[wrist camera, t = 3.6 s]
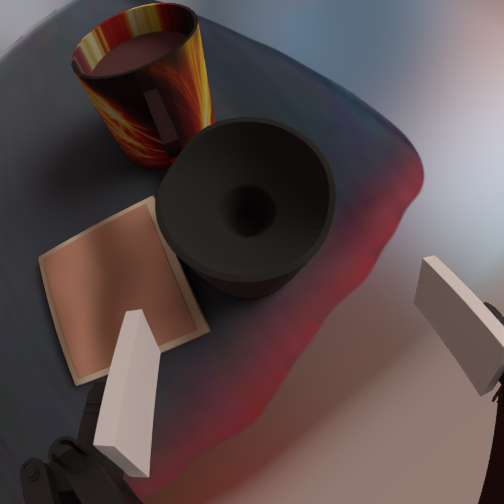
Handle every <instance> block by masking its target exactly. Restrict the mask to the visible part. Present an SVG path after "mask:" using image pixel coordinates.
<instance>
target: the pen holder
mask: <svg viewBox="0 0 504 504" xmlns="http://www.w3.org/2000/svg"><path fill="white" fill-rule="evenodd" d="M335 201H336V190H335V182H334V177H333V173H332V171H331V168H330V166H329V163H328V162H327V160H326V158H325V157H324V155H323V154H322V152H321V151H320V150H319V149H318V147H317V146H316V145H315V144H314V143H313V142H312V141H311V140H309V139H308V138H307V137H306V136H304V135H303V134H302V133H300V132H298V131H297V130H295V129H293V128H291V127H289V126H287V125H285V124H282V123H280V122H276V121H273V120H269V119H264V118H255V117H238V118H230V119H226V120H222V121H218V122H216V123H213V124H211V125H209V126H207V127H205V128H204V129H202V130H201V131H199V132H198V133H197V134H196V135H195V136H194V137H193V138H192V139H191V140H190V141H189V142H188V143H187V144H186V146H185V147H184V148H183V149H182V151H181V152H180V154H179V155H178V156H177V158H176V159H175V161H174V163H173V164H172V166H171V167H170V169H169V170H168V172H167V174H166V175H165V177H164V179H163V180H162V182H161V184H160V187H159V189H158V191H157V195H156V199H155V213H156V219H157V223H158V226H159V229H160V231H161V233H162V235H163V237H164V239H165V241H166V242H167V244H168V245H169V247H170V248H171V249H172V251H173V252H174V253H175V254H176V255H177V256H178V257H179V258H180V259H181V260H182V261H183V262H184V263H186V264H187V265H188V266H189V267H190V268H191V269H193V270H194V271H195V272H196V273H197V274H198V275H200V276H201V277H202V278H203V279H204V280H206V281H207V282H208V283H209V284H211V285H212V286H214V287H215V288H216V289H218V290H220V291H222V292H223V293H226V294H228V295H231V296H235V297H240V298H256V297H262V296H265V295H268V294H271V293H273V292H275V291H277V290H278V289H280V288H282V287H283V286H284V285H285V284H287V283H288V282H289V281H290V280H291V279H292V278H293V277H294V276H295V275H296V274H297V273H298V272H299V271H300V270H301V269H302V268H303V267H304V266H305V265H306V263H307V262H308V261H309V260H310V259H311V258H312V257H313V256H314V255H315V254H316V253H317V252H318V250H319V249H320V247H321V246H322V244H323V243H324V241H325V239H326V237H327V235H328V233H329V230H330V227H331V224H332V220H333V215H334V211H335Z"/></svg>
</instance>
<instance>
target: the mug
mask: <svg viewBox="0 0 504 504" xmlns="http://www.w3.org/2000/svg"><path fill="white" fill-rule="evenodd" d="M71 66H72V69H73V71H74V73H75V74H76V76H77V78H78V80H79V81H80V83H81V85H82V86H83V88H84V90H85V91H86V93H87V95H88V96H89V98H90V100H91V101H92V103H93V104H94V106H95V108H96V109H97V111H98V113H99V114H100V116H101V117H102V119H103V121H104V122H105V124H106V125H107V127H108V129H109V130H110V132H111V133H112V135H113V136H114V138H115V140H116V141H117V143H118V144H119V146H120V147H121V149H122V150H123V152H124V153H125V155H126V156H127V157H128V158H129V160H130V161H132V162H133V163H135V164H136V165H138V166H141V167H144V168H150V169H164V168H169V167H171V166H172V164H173V163H174V161H175V159H176V158H177V156H178V155H179V154H180V152H181V151H182V149H183V148H184V147H185V146H186V144H187V143H188V142H189V141H190V140H191V139H192V138H193V137H194V136H195V135H196V134H197V133H198V132H199V131H201V130H202V129H204V128H205V127H207V126H209V125H211V124H213V123H214V122H215V121H214V115H213V109H212V103H211V97H210V91H209V85H208V79H207V73H206V67H205V61H204V55H203V49H202V43H201V37H200V30H199V24H198V18H197V15H196V14H195V12H194V11H193V10H191V9H190V8H188V7H186V6H183V5H180V4H175V3H154V4H148V5H143V6H139V7H135V8H132V9H129V10H126V11H124V12H121V13H119V14H117V15H115V16H113V17H111V18H109V19H107V20H106V21H104V22H102V23H101V24H99V25H98V26H97V27H95V28H94V29H93V30H91V31H90V32H89V33H88V34H87V35H86V36H85V37H84V38H83V39H82V41H81V42H80V43H79V44H78V46H77V47H76V49H75V51H74V53H73V56H72V59H71Z"/></svg>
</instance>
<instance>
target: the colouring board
mask: <svg viewBox="0 0 504 504" xmlns="http://www.w3.org/2000/svg"><path fill="white" fill-rule="evenodd" d="M38 259H39V264H40V269H41V274H42V278H43V283H44V287H45V291H46V295H47V299H48V303H49V307H50V311H51V314H52V318H53V321H54V325H55V328H56V331H57V334H58V338H59V341H60V344H61V347H62V350H63V353H64V356H65V358H66V361H67V364H68V367H69V369H70V372H71V375H72V377H73V380H74V382H75V385H76V386H78V385H83V384H86V383H88V382H91V381H94V380H96V379H99V378H101V377H104V376H107V375H108V374H109V370H110V366H111V363H112V359H113V355H114V351H115V348H116V344H117V341H118V337H119V334H120V330H121V327H122V323H123V320H124V317H125V314H126V311H133V310H140V309H142V311H143V314H144V316H145V318H146V321H147V323H148V325H149V327H150V330H151V332H152V334H153V336H154V339H155V341H156V343H157V345H158V347H159V350H160V352H161V353H164V352H166V351H168V350H171V349H173V348H175V347H178V346H180V345H182V344H185V343H187V342H189V341H192V340H194V339H196V338H198V337H201V336H203V335H205V334H207V333H210V332H211V330H210V328H209V326H208V324H207V321H206V319H205V317H204V315H203V312H202V310H201V308H200V306H199V303H198V301H197V299H196V297H195V294H194V292H193V290H192V287H191V285H190V283H189V280H188V278H187V276H186V273H185V271H184V269H183V266H182V264H181V261H180V259H179V257H178V256H177V255H176V254H175V253H174V252H173V251H172V249H171V248H170V247H169V245H168V244H167V242H166V241H165V239H164V237H163V235H162V233H161V231H160V229H159V226H158V223H157V219H156V213H155V198H154V197H153V196H151V197H149V198H147V199H145V200H143V201H141V202H139V203H137V204H135V205H133V206H131V207H129V208H127V209H125V210H123V211H121V212H119V213H117V214H115V215H113V216H111V217H109V218H107V219H105V220H103V221H102V222H100V223H98V224H96V225H94V226H92V227H90V228H89V229H87V230H85V231H83V232H81V233H79V234H78V235H76V236H74V237H72V238H71V239H69V240H67V241H65V242H64V243H62V244H60V245H58V246H57V247H55V248H53V249H51V250H50V251H48V252H46V253H45V254H43V255H41V256H40V257H38Z"/></svg>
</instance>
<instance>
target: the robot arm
mask: <svg viewBox="0 0 504 504" xmlns="http://www.w3.org/2000/svg"><path fill="white" fill-rule="evenodd" d="M414 303H415V305H416V306H417V307H418V309H419V310H420V311H421V312H422V314H423V315H424V316H425V318H426V319H427V320H428V322H429V323H430V324H431V326H432V327H433V328H434V329H435V331H436V332H437V334H438V335H439V336H440V338H441V339H442V341H443V342H444V343H445V345H446V346H447V348H448V349H449V350H450V352H451V353H452V355H453V356H454V357H455V359H456V360H457V362H458V363H459V365H460V366H461V368H462V369H463V370H464V372H465V374H466V375H467V377H468V378H469V380H470V381H471V383H472V384H473V386H474V387H475V389H476V390H477V392H478V393H479V395H480V396H483V395H484V394H486V393H488V392H490V391H491V390H493V388H494V387H495V385H496V384H497V382H498V381H499V382H500V383H501V386H500V388H499V389H498V391H497V392H496V394H495V395H494V397H493V399H492V402H494V401H495V399H496V398H497V397H498V401H497V403H498V407H497V415H496V423H495V430H494V437H493V443H492V449H491V454H490V459H489V464H488V468H487V473H486V477H485V481H484V485H483V489H482V492H481V496H480V499H479V502H478V504H504V317H502V314H501V313H500V312H499V311H498V310H497V309H496V308H495V307H493V306H492V305H490V304H489V303H487V302H485V303H482V302H481V301H480V300H479V299H478V298H477V297H476V296H475V295H474V294H473V292H472V291H471V290H470V289H469V288H468V287H467V286H466V285H465V284H464V283H463V282H462V281H461V280H460V279H459V278H458V277H457V276H455V275H454V273H453V272H452V271H450V270H449V269H448V268H447V267H446V266H445V265H444V264H443V263H442V262H441V261H440V260H439V259H438V258H437V257H436V256H429V257H425V258H423V259H422V265H421V270H420V276H419V281H418V286H417V291H416V295H415V300H414ZM160 354H161V352H160V350H159V347H158V345H157V343H156V341H155V339H154V336H153V334H152V332H151V330H150V327H149V325H148V323H147V321H146V318H145V316H144V314H143V311H142V309H140V310H133V311H126V314H125V317H124V320H123V323H122V327H121V330H120V334H119V337H118V341H117V344H116V348H115V351H114V355H113V359H112V363H111V366H110V370H109V374H108V378H107V382H96V383H95V384H94V386H93V387H92V388H91V390H90V391H89V393H88V397H87V401H86V406H85V408H84V415H83V416H82V421H81V425H80V429H79V434H78V438H77V441H76V440H75V439H74V438H72V437H69V436H68V437H61V438H58V439H57V440H56V441H54V442H53V443H52V445H51V447H50V449H49V455H48V456H49V460H50V462H51V463H47V464H45V463H43V462H42V461H41V460H39V459H36V458H30V459H28V460H27V461H25V462H24V464H23V465H22V467H21V470H20V479H21V485H22V490H23V495H24V500H25V504H143V503H142V502H141V500H140V499H139V498H138V497H137V495H136V494H135V493H134V492H133V491H132V489H131V488H130V487H129V485H128V484H127V483H126V482H125V481H124V480H123V473H124V472H125V473H126V474H128V475H129V476H130V477H149V469H150V453H151V439H152V427H153V415H154V405H155V395H156V386H157V378H158V369H159V361H160Z"/></svg>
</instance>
